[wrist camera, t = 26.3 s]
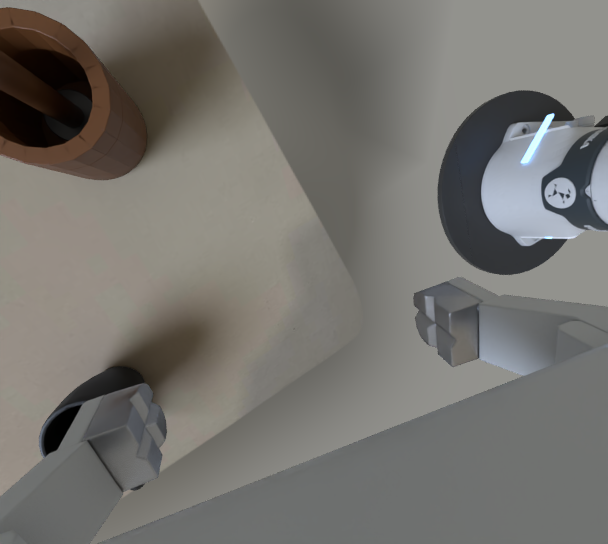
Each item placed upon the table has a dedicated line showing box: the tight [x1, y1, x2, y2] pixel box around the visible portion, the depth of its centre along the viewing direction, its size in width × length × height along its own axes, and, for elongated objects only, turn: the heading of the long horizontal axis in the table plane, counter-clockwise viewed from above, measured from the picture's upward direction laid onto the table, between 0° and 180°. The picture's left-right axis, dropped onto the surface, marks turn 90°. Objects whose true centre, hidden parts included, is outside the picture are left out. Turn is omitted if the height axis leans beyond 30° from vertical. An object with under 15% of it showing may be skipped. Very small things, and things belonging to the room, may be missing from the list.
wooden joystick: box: [0, 50, 93, 141], centre depth 23 cm, size 4×4×21 cm
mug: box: [39, 366, 145, 490], centre depth 35 cm, size 8×12×10 cm
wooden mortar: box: [0, 7, 147, 180], centre depth 28 cm, size 10×10×12 cm
